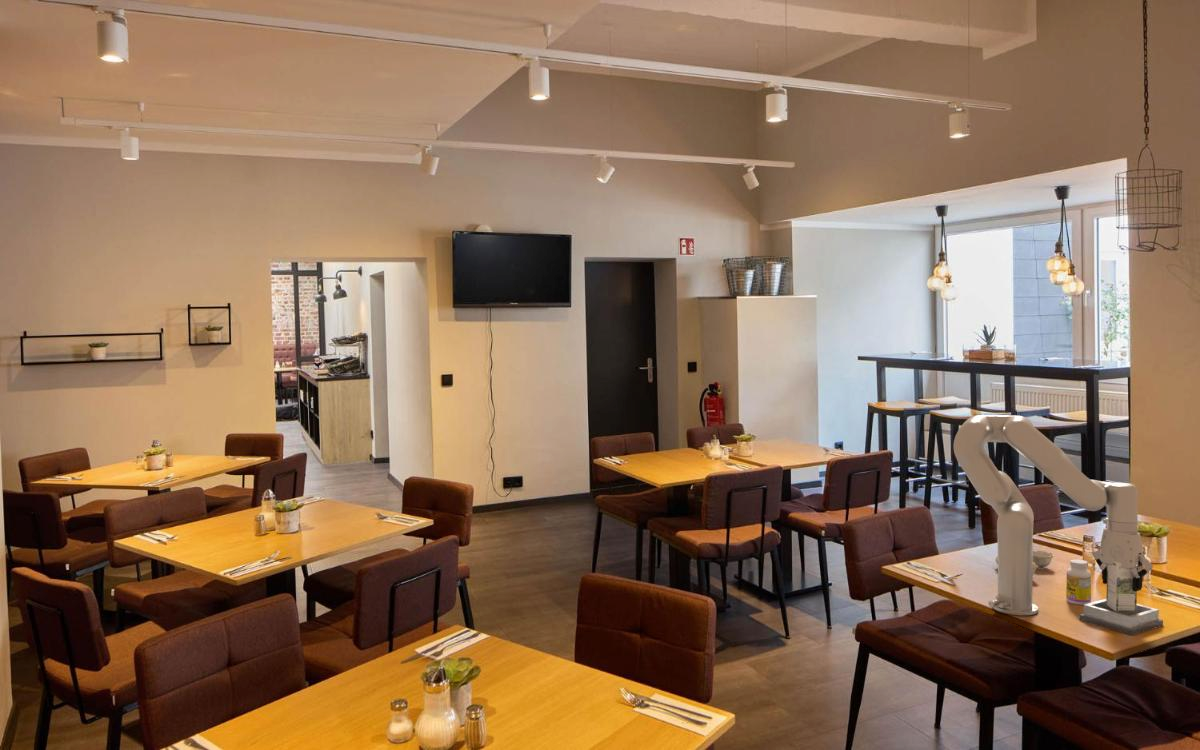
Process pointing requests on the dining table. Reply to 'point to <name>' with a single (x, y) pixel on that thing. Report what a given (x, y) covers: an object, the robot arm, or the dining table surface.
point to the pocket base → (1121, 617)
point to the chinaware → (1039, 559)
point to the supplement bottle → (1078, 583)
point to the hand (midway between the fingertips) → (1121, 586)
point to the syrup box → (1120, 588)
